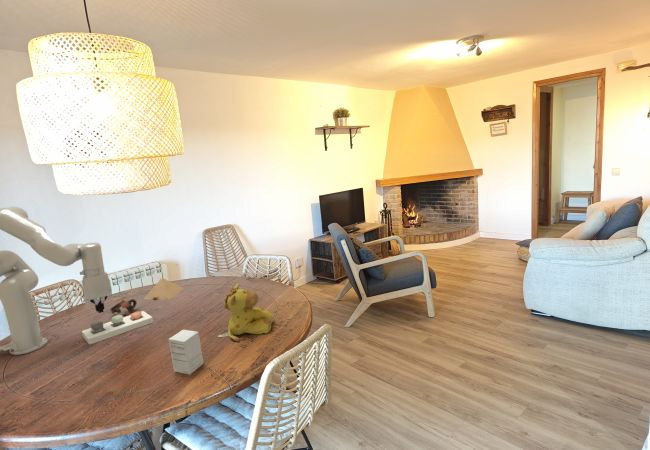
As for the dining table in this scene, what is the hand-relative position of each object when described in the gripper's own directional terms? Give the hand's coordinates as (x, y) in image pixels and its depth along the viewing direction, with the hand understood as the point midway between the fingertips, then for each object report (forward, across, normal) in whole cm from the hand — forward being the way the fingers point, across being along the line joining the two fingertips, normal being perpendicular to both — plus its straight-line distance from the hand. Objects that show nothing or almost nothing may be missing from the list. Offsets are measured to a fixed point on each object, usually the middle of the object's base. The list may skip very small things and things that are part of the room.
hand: (100, 311), depth 162 cm
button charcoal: (+8, -2, 0) cm, 9 cm away
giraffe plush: (+8, +42, -50) cm, 66 cm away
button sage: (+8, +6, -1) cm, 10 cm away
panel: (+10, +6, -1) cm, 12 cm away
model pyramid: (+10, +38, +28) cm, 48 cm away
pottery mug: (+10, +14, +16) cm, 24 cm away
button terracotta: (+9, +14, -1) cm, 17 cm away
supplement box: (+9, +12, -58) cm, 60 cm away
